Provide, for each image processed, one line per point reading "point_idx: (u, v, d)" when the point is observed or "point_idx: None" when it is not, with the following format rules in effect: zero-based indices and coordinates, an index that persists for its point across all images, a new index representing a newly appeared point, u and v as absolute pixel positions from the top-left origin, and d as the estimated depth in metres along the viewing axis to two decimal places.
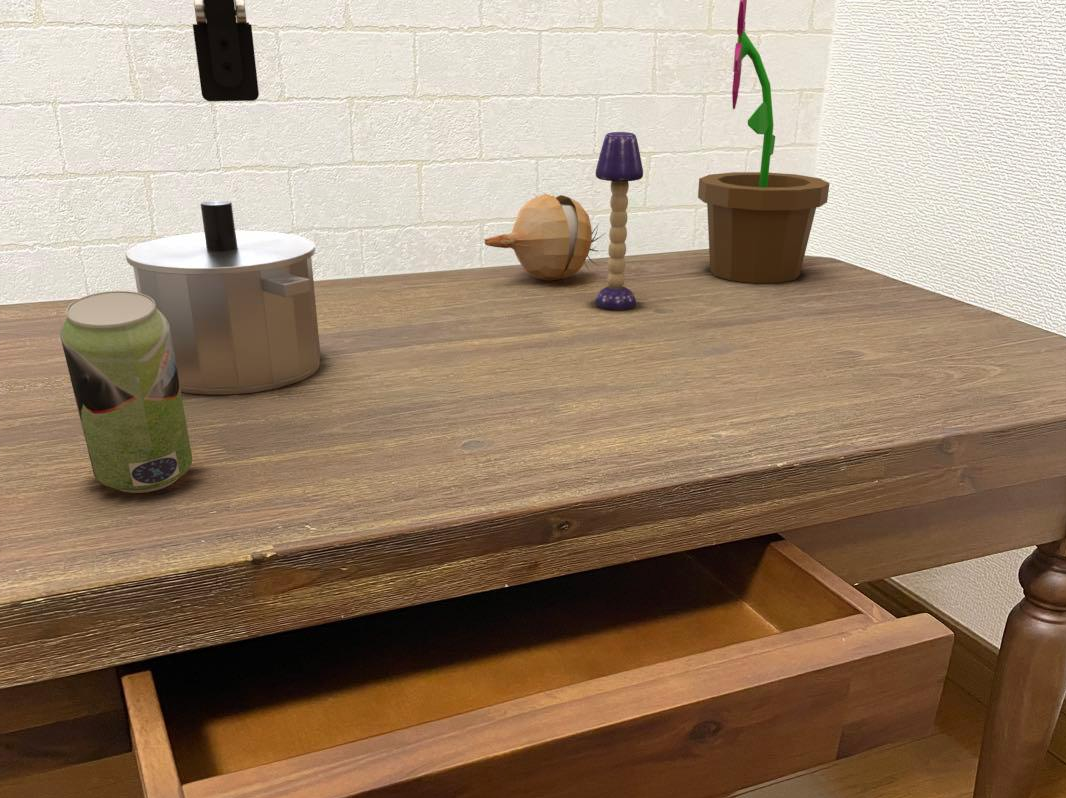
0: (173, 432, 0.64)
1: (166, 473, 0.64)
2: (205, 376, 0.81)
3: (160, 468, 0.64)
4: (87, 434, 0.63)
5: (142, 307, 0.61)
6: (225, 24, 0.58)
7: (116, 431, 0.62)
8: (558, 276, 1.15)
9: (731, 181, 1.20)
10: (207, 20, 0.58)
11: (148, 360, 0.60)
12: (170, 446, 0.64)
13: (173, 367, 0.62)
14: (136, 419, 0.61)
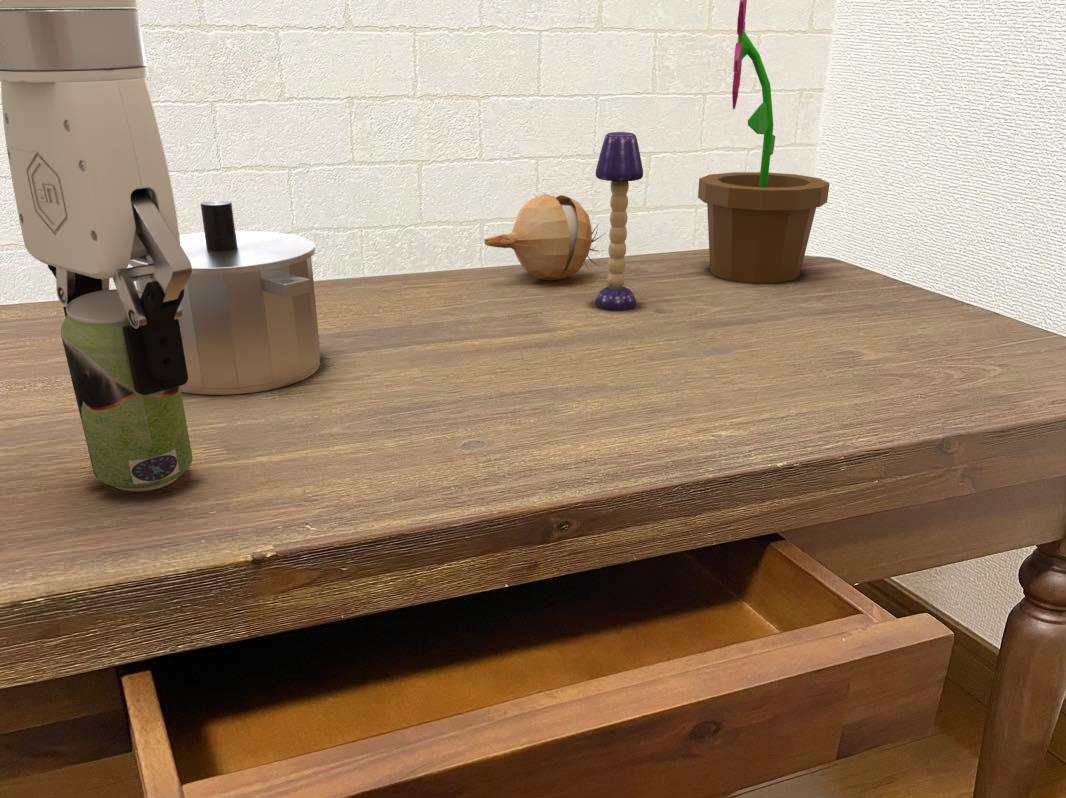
0: (173, 429, 0.64)
1: (166, 470, 0.64)
2: (205, 376, 0.81)
3: (160, 465, 0.64)
4: (87, 432, 0.63)
5: None
6: (163, 324, 0.59)
7: (116, 428, 0.62)
8: (558, 276, 1.15)
9: (731, 181, 1.20)
10: (148, 324, 0.58)
11: None
12: (170, 443, 0.64)
13: None
14: (135, 415, 0.62)
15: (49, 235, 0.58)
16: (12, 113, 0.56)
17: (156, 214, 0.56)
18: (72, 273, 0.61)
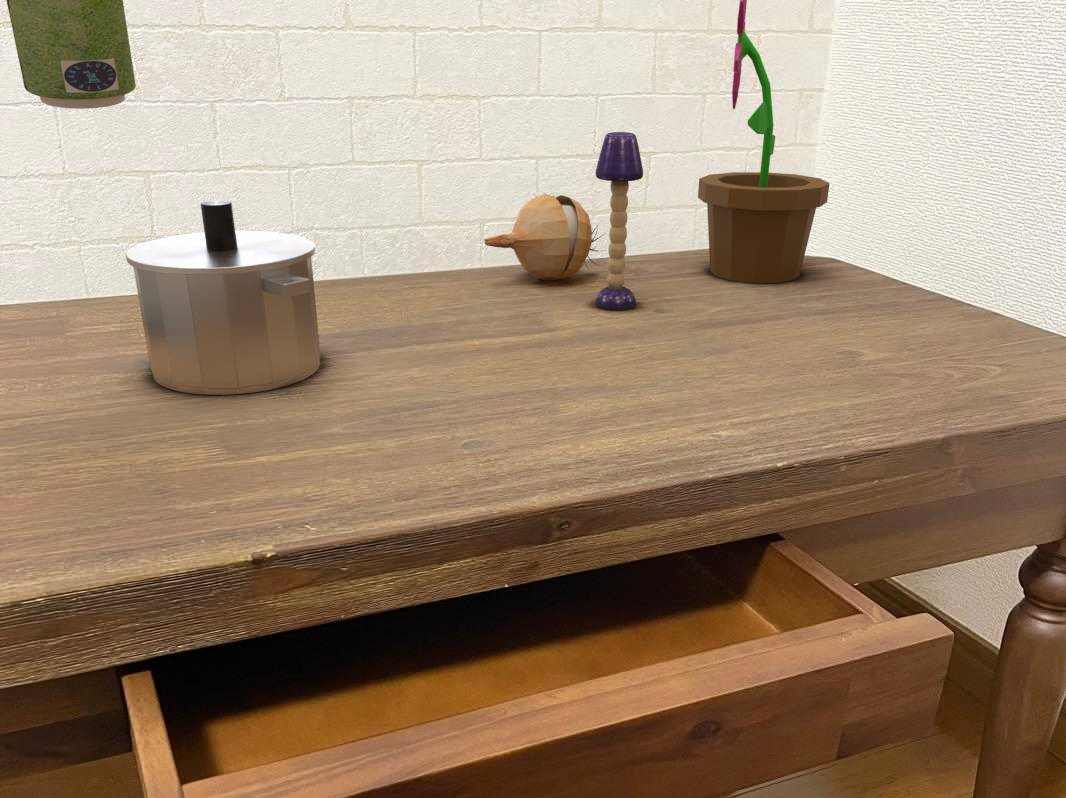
0: (112, 33, 0.58)
1: (103, 82, 0.59)
2: (205, 376, 0.81)
3: (96, 73, 0.58)
4: (15, 26, 0.57)
5: None
6: None
7: (46, 15, 0.56)
8: (558, 276, 1.15)
9: (731, 181, 1.20)
10: None
11: None
12: (107, 49, 0.58)
13: None
14: (68, 1, 0.56)
15: None
16: None
17: None
18: None
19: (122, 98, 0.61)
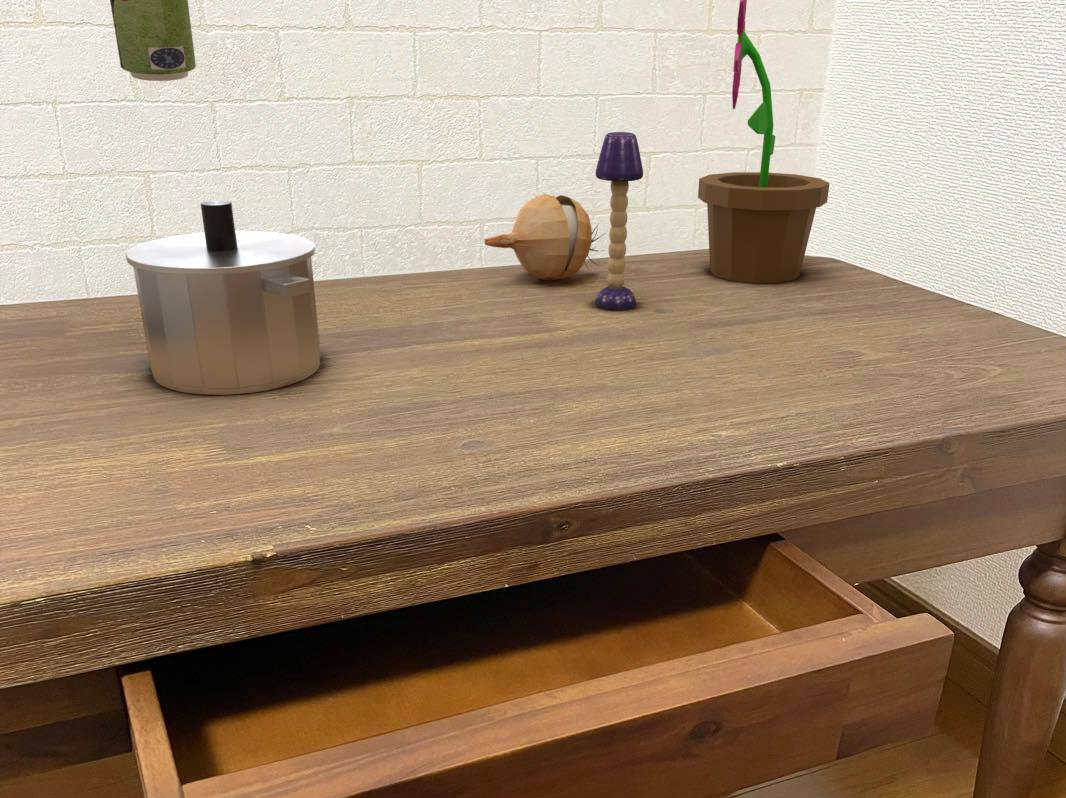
0: (182, 28, 0.85)
1: (176, 62, 0.86)
2: (205, 376, 0.81)
3: (171, 56, 0.85)
4: (117, 24, 0.84)
5: None
6: None
7: (139, 17, 0.83)
8: (558, 276, 1.15)
9: (731, 181, 1.20)
10: None
11: None
12: (179, 39, 0.85)
13: None
14: (154, 7, 0.83)
15: None
16: None
17: None
18: None
19: (187, 74, 0.88)
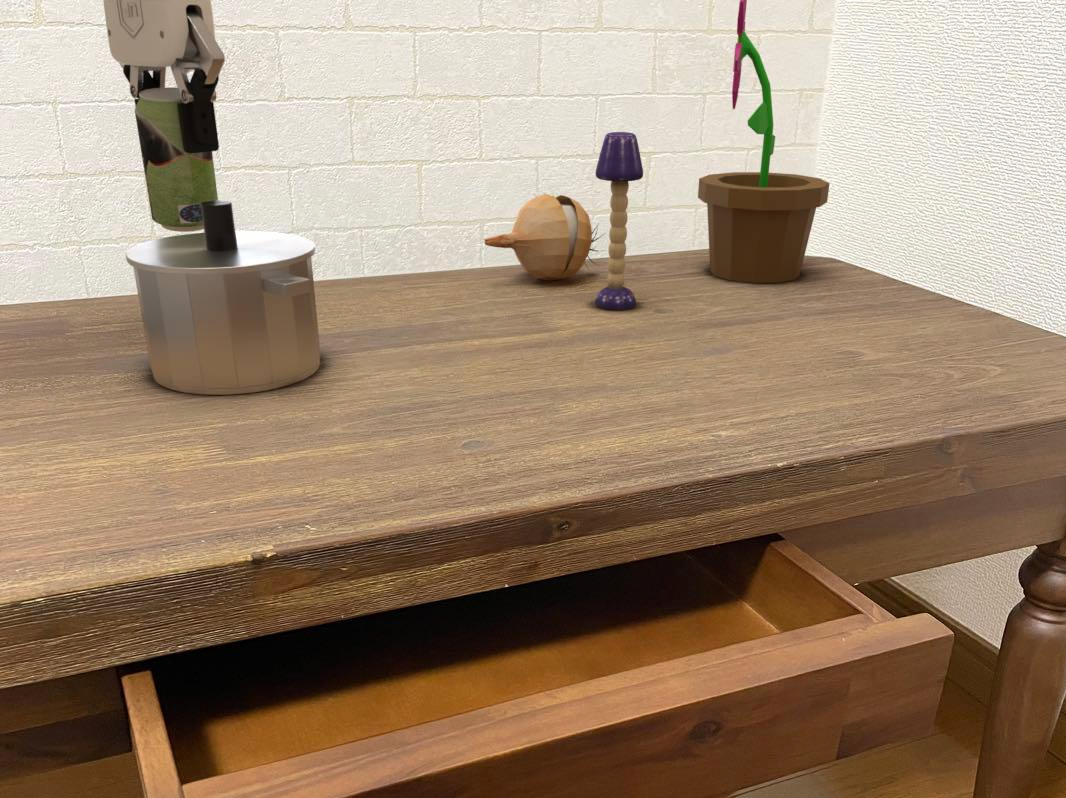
0: (208, 186, 0.94)
1: None
2: (205, 376, 0.81)
3: (198, 211, 0.94)
4: (150, 184, 0.93)
5: None
6: (204, 102, 0.88)
7: (170, 179, 0.91)
8: (558, 276, 1.15)
9: (731, 181, 1.20)
10: (194, 101, 0.88)
11: None
12: (205, 196, 0.94)
13: None
14: (184, 171, 0.91)
15: (129, 40, 0.87)
16: None
17: (202, 23, 0.85)
18: (141, 74, 0.91)
19: None
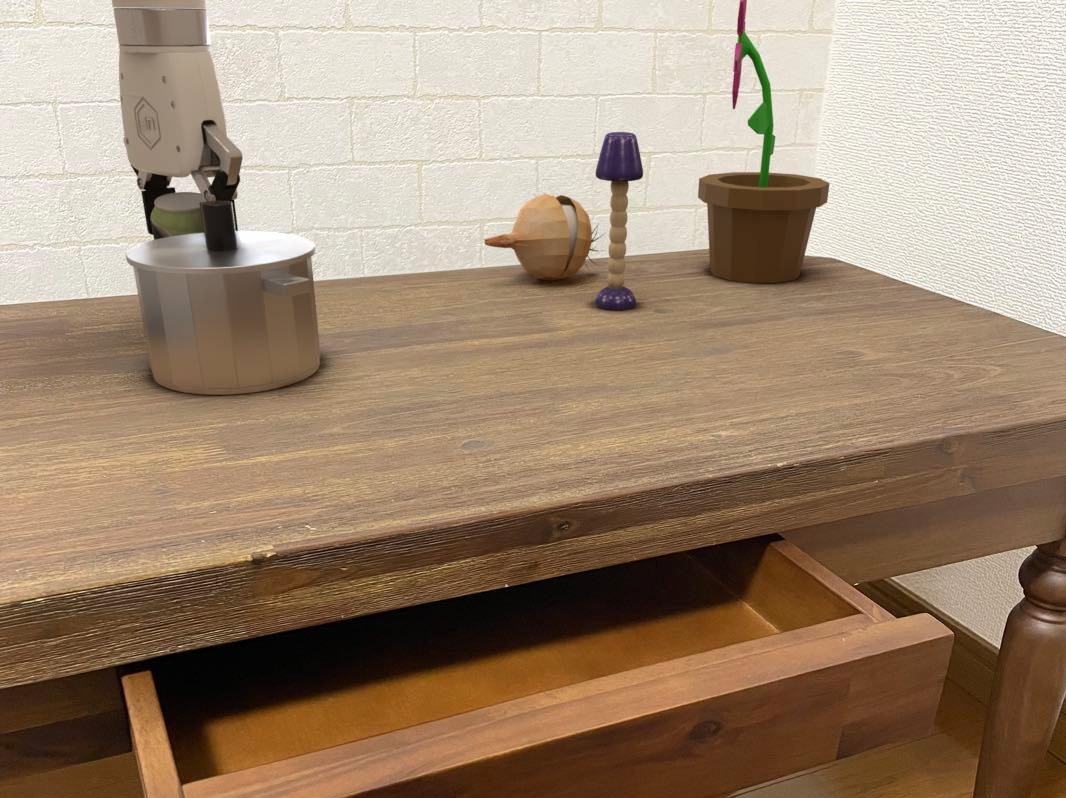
0: None
1: None
2: (205, 376, 0.81)
3: None
4: None
5: (202, 201, 0.94)
6: None
7: None
8: (558, 276, 1.15)
9: (731, 181, 1.20)
10: (216, 200, 0.91)
11: None
12: None
13: None
14: None
15: (147, 150, 0.91)
16: (126, 73, 0.89)
17: (217, 129, 0.89)
18: None
19: None
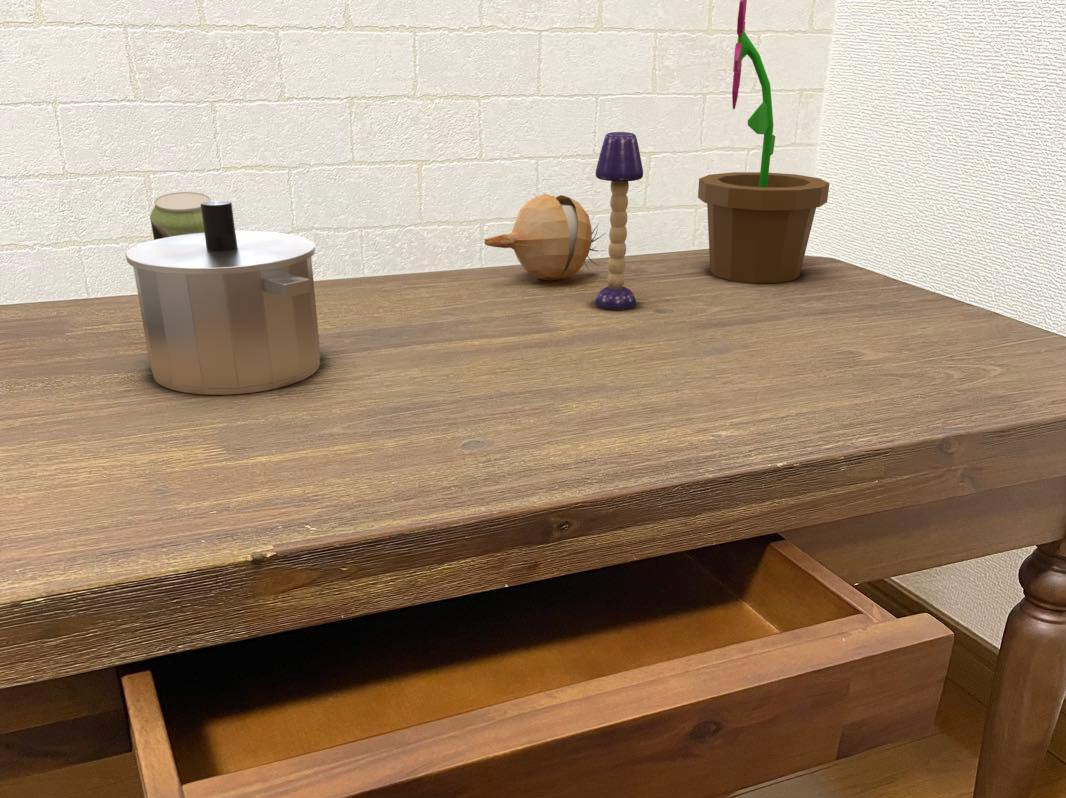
0: None
1: None
2: (205, 376, 0.81)
3: None
4: None
5: (202, 201, 0.94)
6: None
7: None
8: (558, 276, 1.15)
9: (731, 181, 1.20)
10: None
11: None
12: None
13: None
14: None
15: None
16: None
17: None
18: None
19: None
